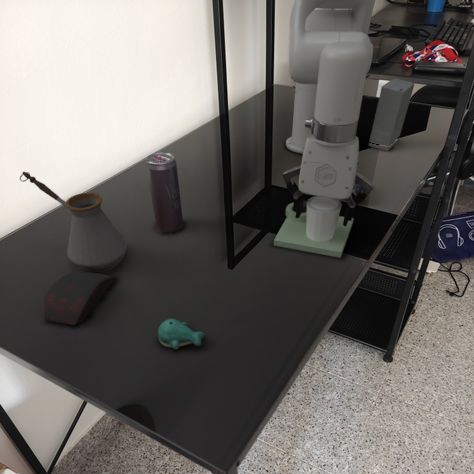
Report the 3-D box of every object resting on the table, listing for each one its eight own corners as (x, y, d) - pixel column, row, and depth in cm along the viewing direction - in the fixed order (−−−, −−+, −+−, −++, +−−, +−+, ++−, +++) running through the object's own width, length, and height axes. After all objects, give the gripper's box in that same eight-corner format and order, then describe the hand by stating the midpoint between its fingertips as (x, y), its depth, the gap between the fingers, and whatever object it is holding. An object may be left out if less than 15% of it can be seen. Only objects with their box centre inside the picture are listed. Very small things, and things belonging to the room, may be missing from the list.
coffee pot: (141, 255, 88) (126, 183, 77) (102, 284, 81) (79, 211, 70) (67, 228, 96) (44, 159, 85) (26, 253, 89) (-5, 182, 78)
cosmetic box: (378, 137, 130) (391, 77, 118) (401, 142, 127) (416, 81, 115) (366, 146, 125) (378, 84, 114) (390, 152, 122) (405, 89, 111)
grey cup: (335, 245, 87) (341, 213, 82) (301, 241, 88) (305, 209, 83) (337, 227, 91) (342, 196, 86) (304, 224, 92) (308, 193, 87)
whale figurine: (167, 325, 73) (164, 308, 70) (208, 332, 72) (206, 315, 69) (153, 349, 69) (150, 332, 66) (197, 357, 68) (195, 340, 65)
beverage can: (172, 216, 98) (163, 149, 88) (188, 226, 95) (181, 157, 85) (151, 226, 96) (139, 158, 85) (167, 236, 93) (157, 166, 82)
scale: (289, 212, 99) (290, 200, 97) (353, 222, 95) (355, 210, 93) (271, 245, 90) (271, 232, 87) (340, 258, 86) (343, 245, 84)
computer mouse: (41, 320, 74) (33, 302, 71) (80, 274, 83) (74, 256, 81) (83, 327, 73) (76, 310, 70) (118, 280, 82) (114, 262, 79)
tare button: (295, 205, 96) (295, 198, 95) (309, 207, 95) (309, 201, 94) (291, 212, 94) (291, 205, 93) (305, 214, 93) (306, 208, 92)
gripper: (280, 131, 75) (275, 221, 87) (382, 143, 70) (362, 235, 83) (292, 117, 79) (285, 203, 92) (388, 127, 75) (367, 217, 87)
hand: (322, 218), depth 87 cm, fingers open, 9 cm apart
